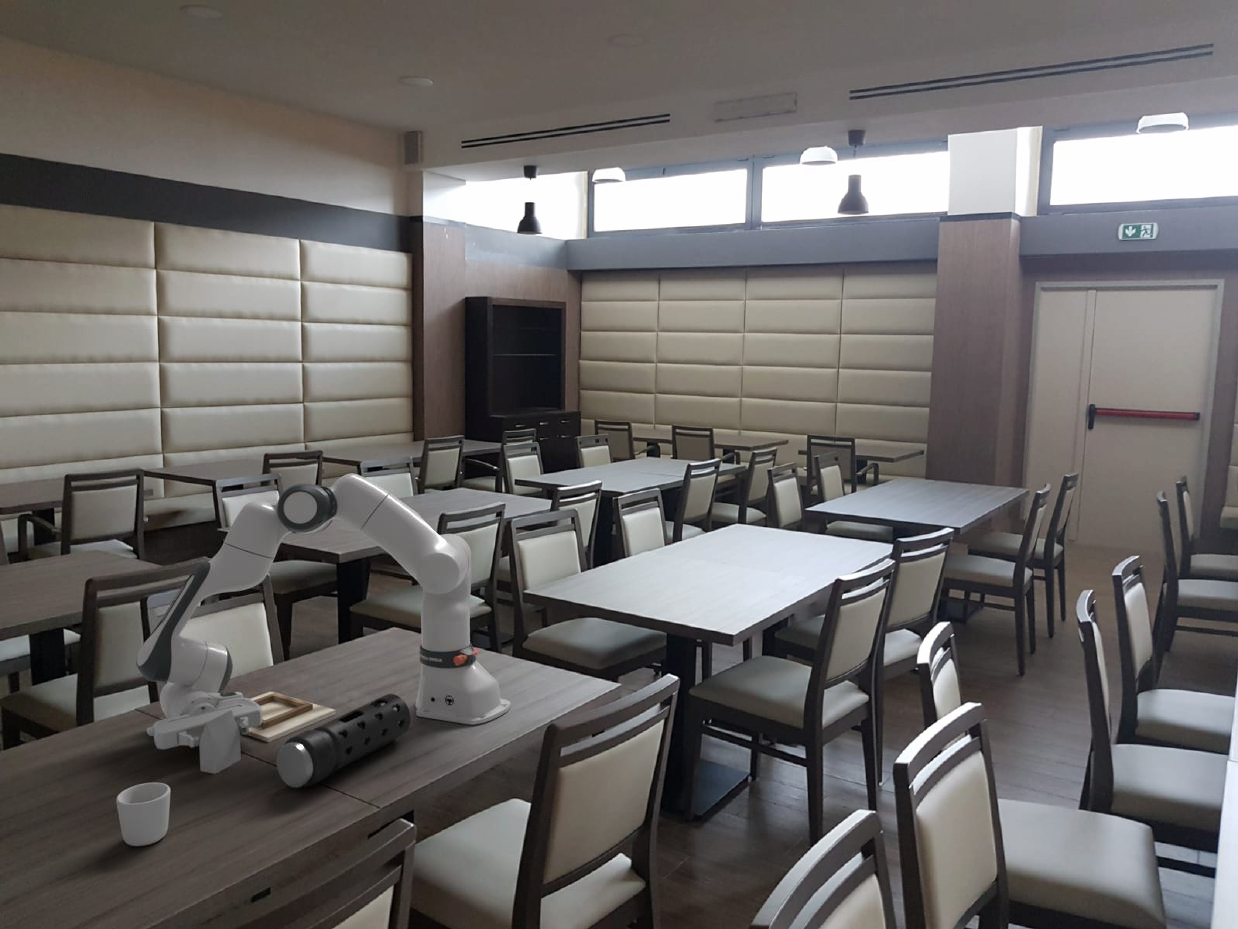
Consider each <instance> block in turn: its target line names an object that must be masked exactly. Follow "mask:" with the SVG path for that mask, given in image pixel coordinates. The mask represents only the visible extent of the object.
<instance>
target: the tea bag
mask: <svg viewBox="0 0 1238 929" xmlns="http://www.w3.org/2000/svg"><path fill="white" fill-rule="evenodd" d="M241 754H242V752H241V734H240V731H239V728H238V726H237V724H236V721H235V719H234V716H233V713H232V710H231V711H228V712H226V713H224V714H222V715H220V716H218V717H216V718H214V719H212V720H209V721H207V722H205V727H204V730H203V733H202V736H201V739H200V740H199V765H200V766H199V767H200V772H203V773H209V774H216V773H217V774H219V773H220V772H221V771H224V770H225V769H227V768H229V767H231V766H232V765H234V764H236V763H237V762H240V761H241V759H242V758H241V756H242V755H241ZM233 763H234V764H233Z"/></svg>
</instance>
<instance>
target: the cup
mask: <svg viewBox="0 0 1238 929" xmlns="http://www.w3.org/2000/svg"><path fill="white" fill-rule="evenodd" d="M115 800H116V808H117V814H118V819H119V825H120V829H121V830H120V831H121V835H122V836H121V837H122V839H123V841H124V842H125V844H127V845H129V846H132V847H143V846H148V845H149V846H150V845H152V844H155V843H157V842H158V841H160V840H161V839H163V838H164V837H165V836H166V834H167V832H168V829H169V819H170V818H169V817H170V804H171V787H170V786H169V785H168V784H166V783H163V782H145V783H140V784H136V785H134V786H131V787H128V788H126V789H124V790H122V791H121V792H120V793H119V794H118V795H117V797H116V799H115Z"/></svg>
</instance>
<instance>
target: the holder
mask: <svg viewBox="0 0 1238 929" xmlns="http://www.w3.org/2000/svg"><path fill="white" fill-rule="evenodd" d="M250 699H251V700H253V701H254V702H256V703H257V704H258V705H259V706H260V707H261V708H262V717H263V718H262V723H261V724H260V725H259V726H255V727H251V728H249V733H246V734H244V735H245V736H249V737H251V736H252V738H254V739H257V740H260V739H261V740H260V741H264V742H267V743H271V742H273V741H275V740H277V739H280V738H282V737H285V736H287V735H290V734H292V733H294V732H297V731H299V730H301V729H304V728H305V727H308V726H312V725H313V724H315V723H319V722H320V721H323V720H325V719H327V718H329V717H333V716H334V715H337V714H336V712H337V710H336V709H334V708H330V707H327V706H324V705H319V704H316V703H312V702H309V701H306V700H303V699H299V698H295V697H292V696H290V695H289V696H288V695H285V694H281V693H278V692H275V691H268V692H264V693H262V694H259V695H257V696H254V697H251V698H250Z"/></svg>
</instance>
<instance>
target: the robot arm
mask: <svg viewBox="0 0 1238 929" xmlns="http://www.w3.org/2000/svg"><path fill="white" fill-rule="evenodd" d="M334 520H339V521H342V522H344V523H346V524H348V525H349V526H351V527H352V528H354V529H355V530H356V531H357V532H359V533H360V534H362V535H363V536H364V537H366V538H368V540H370V541H371V542H372V543H374V544H375V545H377V546H378V547H380V548H381V549H382V550H384V551H385V552H386V553H388V554H389V555H390V556H391V557H392V558H393V559H394V560H395V561H397V562H396V563H399V565H400V566H401V567H402V568H403V569H404V570H405V571H406V572H407V573H408V574H409V575H410V576H412V577H413V578H414V579H415V580H416V581H417V582H418V584H419V586H420V587H421V588H422V599H421V600H422V601H421V609H420V618H421V619H420V625H421V626H420V628H421V634H420V635H421V636H420V637H421V644H420V645H419V652H418V654H419V655H418V656H419V662H420V663H421V666H420V668H421V669H420V677H419V687H418V692H417V697H416V700H415V704H414V705H415V706H414V707H415V708H416V712H415V714H416V717H420V718H421V717H422V718H426V719H427V718H428V719H433V720H440V721H445V722H453V723H459V724H464V725H480V724H483V723H486V722H489V721H492V720H495V719H496V718H499V717H500V716H502V715H504V714H505V713H507V712H508V711H509V710H510V709H511V706H512V705H511V701H510V700H508V699H504V698H502V697H501V690H500V686H499V682H498V680H496V679H495V677H494V676H492V675H491V674H490V673H489V672H488V671H487V670H486V668H484V667H483V666H482V664H480V663H479V661H477V655H479V654H480V649H479V648H478V649H476V650H474V647H473V644H472V642H471V641H470V640H471V638H470V637H471V635H470V634H471V631H470V630H471V628H470V626H471V625H470V619H471V618H470V615H471V614H470V610H471V609H470V607H471V592H472V591H471V588H472V586H471V585H472V550H471V547H470V546H469V544H468V542H467V541H466V540H465V539H464V538H463V537H461V536H460V535H457V534H454V533H444V534H438V532H437V531H435V530H434V529H433V528H432V526H430V524H429V523H427V522H426V521H425V519H423V517H422V516H421V514H420V513H418V512H417V511H416V510H414V509H413V508H411V507H410V506H409V505H407V504H406V503H405V502H403V501H402V500H401V499H398V498H397V496H395V495H394V494H392V493H391V492H390V491H388V490H386V489H385V488H383V487H382V486H380V485H379V484H377V483H376V482H374V481H373V480H370V479H368V478H366V477H364V476H362V475H360V474H358V473H347V474H345V475H342V476H341V477H339V478H338V479H337V480H336V481H335V482H334V483H333V484H332V485H331V486H330V487H329V486H326V485H318V484H313V483H312V484H310V483H298V484H294V485H291V486H290V487H287V488H286V489H285V490H284V491H283V492H282V493H281V495H280V496H279V498H278V500H277V503H271V502H269V501H268V502H267V501H263V500H256V501H255V500H253V501H249V502H247V503H246V504H245V505H244V506H242V508H241V510H240V511H239V512H238V514H237V515H236V517H235V519H234V520H233V522H232V524H231V526H230V528H229V530H228V531H227V534H226V536H225V539H224V542H223V544H222V546H221V547H220V549H219V550H218V552H217V553H216V554H215V555H214V556H213V557H212V558H211V559H210V560H208V561H206V562H202V563H199V564H198V565H197V566H196V567H195V568H194V569H193V570H192V572H191V573H190V574H189V576H188V577H187V579H186V580H185V581H184V583H183V585H182V586H181V587H180V590H179V591H177V593H176V596H175V597H174V598H173V600H172V602H171V604H170V605H169V607H168V608H167V610H166V612H165V613H164V614H163V617H162V618H161V620H160V621H159V622H158V624H157V625H156V627H155V628H154V630H153V631H152V632H151V633H150V635H148V637H147V639H146V640H145V641H144V643H143V644H142V646H141V648H140V650H139V652H138V655H137V658H136V666H137V668H138V671H139V673H140V674H141V675H142V677H143V678H145V680H146V681H149V682H157V683H166V684H164V685H163V687H162V689H161V691H160V694H159V702H160V707H161V709H162V712H163V714H164V715H165V717H166V718H165V719H164V718H163V719H160V720H158V721H157V720H156V721H155V722H154V723H153V724H152V726H150V727H147V728H146V733H147V734H148V735H149V736H150V737H153V740H154V741H153V742H154V745H155V746H156V748H157V749H158V750H167V749H171V748H176V747H179V746H189V747H190V748H195V747H198V746H199V741H200V739H201V736H202V733H203V730H204V727H205V722H207V721H209V720H212V719H214V718H216V717H218V716H220V715H222V714H224V713H226V712H228V711H231V710H232V713H233V716H234V719H235V721H236V724H237V726H238V728H239V731H240V736H242V735H245V734H246V733H249V728H251V727H255V726H259V725H260V724H261V723H262V718H263V717H262V708H261V707H260V706H259V705H258V704H257V703H256V702H254V701H253V700H251V698H249V697H244V696H243V695H244V694H243V693H242V692H240V691H233V692H232V691H231V692H224V691H225V689H226V687H227V686H228V684H229V682H230V679H231V676H232V674H233V666H234V665H233V659H232V656H231V653H230V651H229V649H228V647H226V645H222V644H219V643H215V642H214V643H213V642H209V641H206V640H198V639H194V638H191V637H190V638H189V637H184V636H182V635H181V633H182V631H183V630H184V628H185V627H186V625H187V623H188V621H189V620H190V618H191V617H192V615H193V614H194V613H195V610H196V609H197V608H198V606H199V604H200V603H201V602H202V601H203V600H205V599H206V598H208V597H211V596H213V595H216V594H222V593H231V592H240V591H245V590H248V589H251V588H254V587H255V586H257V585H259V584H261V582H263V581H264V580H265V578H266V577H267V576H268V574H269V572H270V569H272V568H271V567H272V565H273V562H274V560H275V558H276V555H277V552H278V549H279V547H280V546H281V543H282V542H283V540H284V538H286V536H288V535H290V534H299V535H313V534H318V533H321V532H323V531H324V530H326V529H327V528H328V527H329V526H330V525H331V524H332V522H333V521H334ZM199 747H200V746H199Z"/></svg>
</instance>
